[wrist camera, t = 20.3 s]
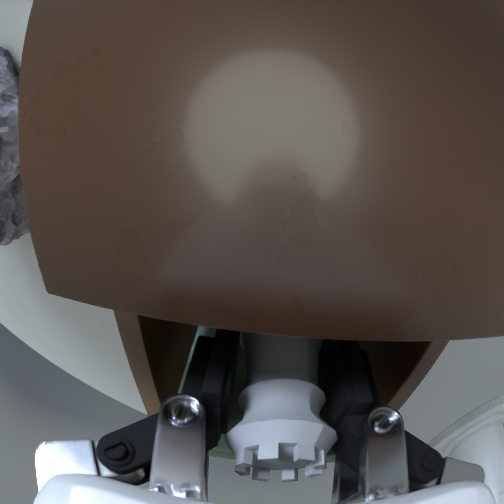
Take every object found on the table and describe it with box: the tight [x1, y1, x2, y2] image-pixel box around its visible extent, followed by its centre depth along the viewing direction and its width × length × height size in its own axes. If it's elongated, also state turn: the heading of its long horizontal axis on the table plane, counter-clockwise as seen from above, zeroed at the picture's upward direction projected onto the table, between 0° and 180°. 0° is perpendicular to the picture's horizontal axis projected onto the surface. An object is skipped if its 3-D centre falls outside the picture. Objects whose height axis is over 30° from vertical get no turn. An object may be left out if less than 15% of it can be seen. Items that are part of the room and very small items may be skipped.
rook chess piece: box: [225, 331, 337, 482], centre depth 9 cm, size 4×4×8 cm
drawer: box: [114, 310, 449, 463], centre depth 13 cm, size 18×11×9 cm, turn 175°
